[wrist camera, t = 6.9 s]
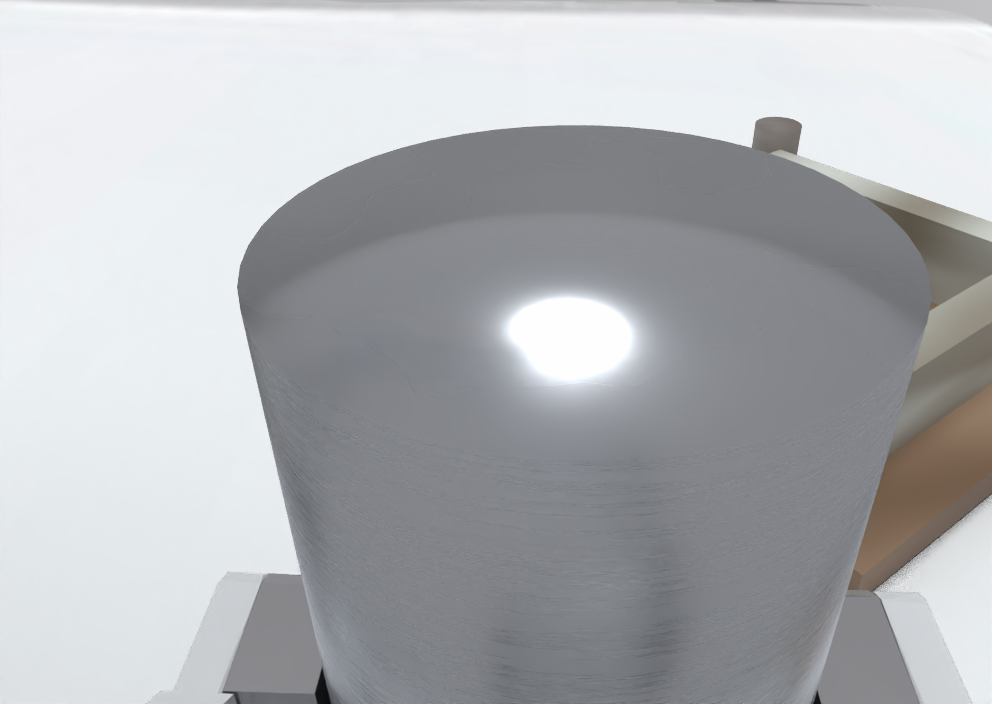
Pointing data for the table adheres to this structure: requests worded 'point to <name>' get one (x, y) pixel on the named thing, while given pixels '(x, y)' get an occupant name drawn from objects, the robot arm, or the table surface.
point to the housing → (926, 375)
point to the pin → (579, 413)
